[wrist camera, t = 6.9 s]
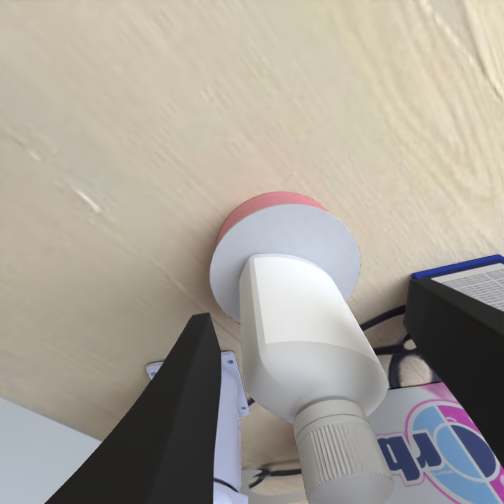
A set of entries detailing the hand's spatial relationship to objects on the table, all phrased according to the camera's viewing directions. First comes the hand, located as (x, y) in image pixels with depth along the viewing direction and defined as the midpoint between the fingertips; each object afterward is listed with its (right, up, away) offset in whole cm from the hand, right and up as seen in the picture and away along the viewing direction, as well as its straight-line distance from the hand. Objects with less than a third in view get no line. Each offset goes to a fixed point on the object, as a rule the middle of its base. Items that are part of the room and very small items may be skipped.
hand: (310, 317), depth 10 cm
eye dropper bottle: (0, +1, +7) cm, 7 cm away
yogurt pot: (0, +2, +10) cm, 10 cm away
